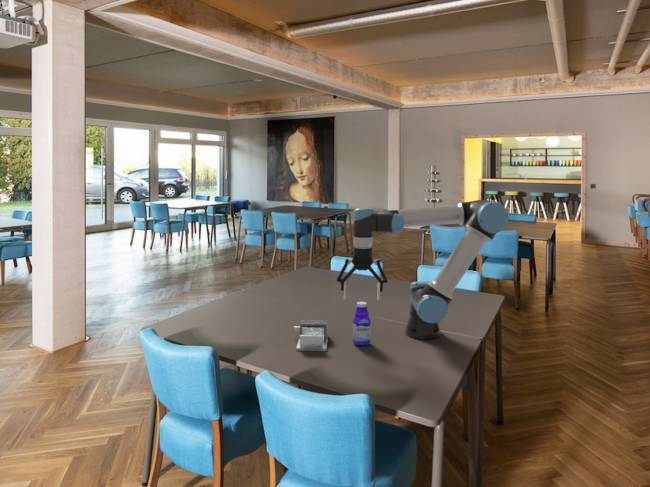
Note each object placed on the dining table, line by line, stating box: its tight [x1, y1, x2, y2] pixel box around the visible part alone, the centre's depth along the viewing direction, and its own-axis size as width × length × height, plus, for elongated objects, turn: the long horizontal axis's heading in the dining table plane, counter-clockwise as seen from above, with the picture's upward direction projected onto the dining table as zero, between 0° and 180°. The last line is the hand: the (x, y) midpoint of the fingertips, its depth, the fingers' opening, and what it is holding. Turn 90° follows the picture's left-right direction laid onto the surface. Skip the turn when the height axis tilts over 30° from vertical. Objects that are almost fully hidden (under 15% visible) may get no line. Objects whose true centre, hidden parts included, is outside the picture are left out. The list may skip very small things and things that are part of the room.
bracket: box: [295, 327, 329, 352], centre depth 196 cm, size 12×11×6 cm
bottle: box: [352, 301, 372, 347], centre depth 197 cm, size 7×6×17 cm
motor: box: [293, 319, 329, 340], centre depth 205 cm, size 14×6×7 cm, turn 88°
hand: (361, 299), depth 196 cm, fingers open, 13 cm apart
